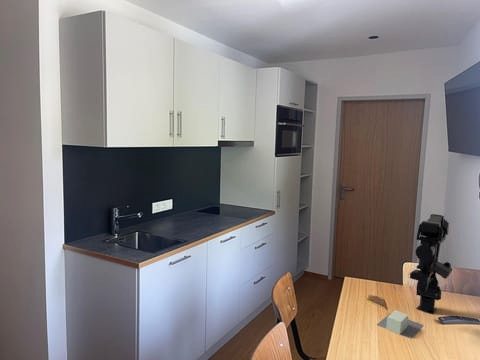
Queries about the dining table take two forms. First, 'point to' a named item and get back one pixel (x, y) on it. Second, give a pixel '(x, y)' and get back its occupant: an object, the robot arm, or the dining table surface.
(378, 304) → the shard
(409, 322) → the rubber mat
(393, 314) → the sage block
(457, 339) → the dining table surface
